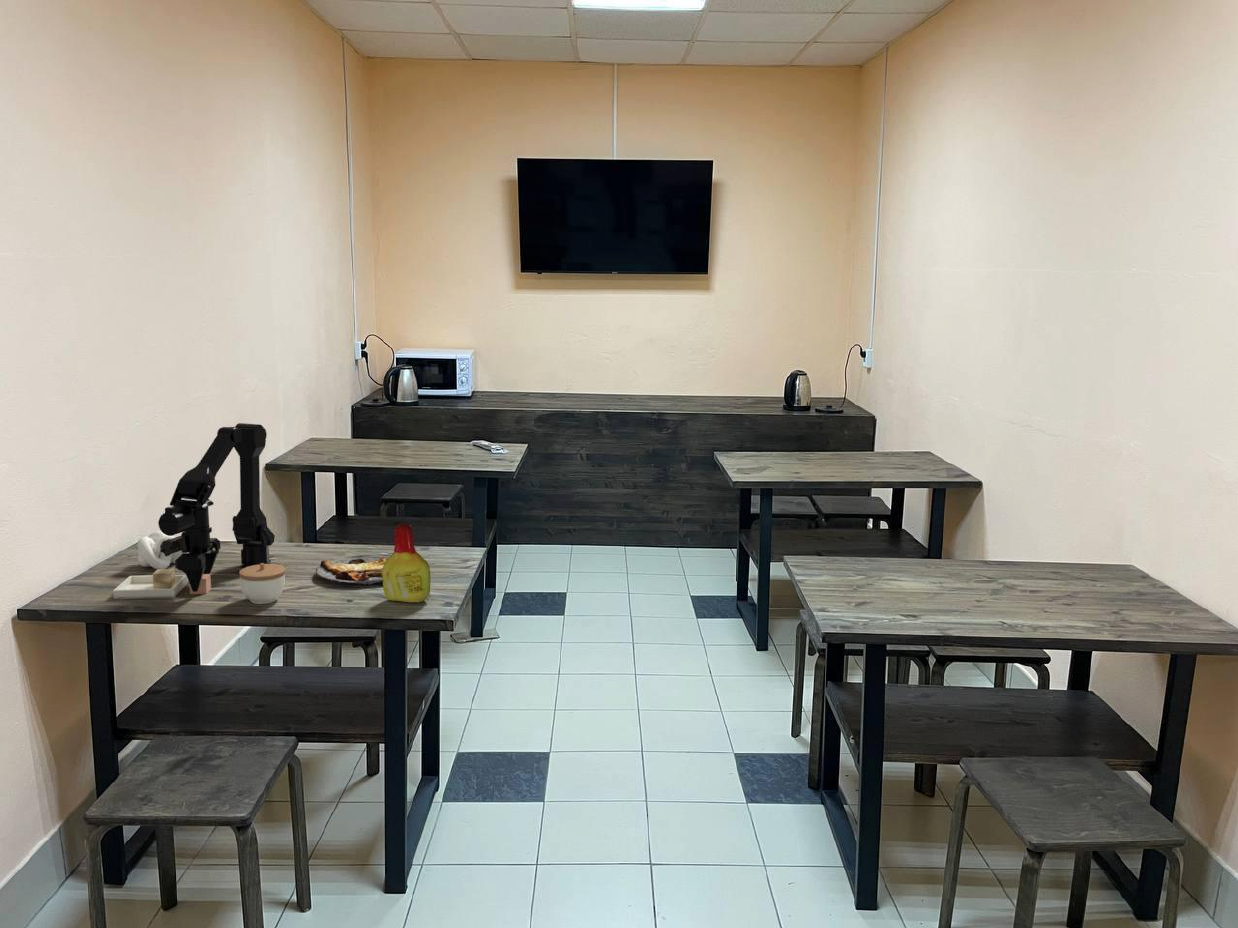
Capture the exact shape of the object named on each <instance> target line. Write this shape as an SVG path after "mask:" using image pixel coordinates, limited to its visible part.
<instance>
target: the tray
mask: <svg viewBox="0 0 1238 928" xmlns="http://www.w3.org/2000/svg"><path fill="white" fill-rule="evenodd" d="M188 583H189V580H188V578H187V576H186V574H175V585H174V586H173V587H172V588H171V589H154V585H153V574H152V575H151V574H150V575H129V576H128V577H127V578H126V579H125V580H124V581H122V582H121V583H120V584H119V585H118V586H116V588H114V589H113V590H112V595H113V597H112V598H113V600H127V599H128V600H130V599H131V600H133V599H134V600H135V599H136V600H138V599H143V600H144V599H175V598H176V596H177V595H178V594H180V592H181V591H182V590H183V589H184V588H185V587H186V586H187V584H188Z"/></svg>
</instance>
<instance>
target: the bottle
mask: <svg viewBox="0 0 1238 928" xmlns="http://www.w3.org/2000/svg"><path fill="white" fill-rule="evenodd" d="M415 547H416V546H415V544H414V534H413V528H412V525H410V524H409V523H399V524H397V525H396V526H395V528H394V548H393V553H392V554H391V555H390V556H389V558H388V559H387V560H386V562H385V563H384V565H383V569H382V576H381V577H382V578H381V579H383V581H382V587H383V589H382V590H383V593H384V597H386V599H387V600H389V601H394V602H395V601H397V602H405V603H422V602H423V601H425V600H426V598H427V597H428V596H429V595H430V594H431V568H430V564H429V563H428V561H427V560H426V559H425V558H423V556H421V554H420V553H418V552H417V551H416V548H415Z"/></svg>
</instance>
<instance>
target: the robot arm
mask: <svg viewBox="0 0 1238 928" xmlns="http://www.w3.org/2000/svg"><path fill="white" fill-rule="evenodd" d="M266 441H267V430H266V428H264V426H263V425H262V424H258V423H257V424H256V423H241V422H239V423H237V424H236V425H235V426H222V427H220V428H218V430H217V432H216V437H215V438H214V439H213V441H212V442H211V444H210V446H209V447H208V449H207V450H206V451H205V453H204V454H203V456H202V458H201V460H199V462H198V463H197V464H196V466H195V467H192V468H191V469H189V470H187V471H186V472H185V473H184V475H182V476H181V478H179V480H178V482H177V485H176V488H175V490H174V493H173V496H172V498H171V500H170V503H169V506H167V507H165V508H164V513H162V514H161V515H160V517H159V519H158V522H157V524H158V528H159V530H160V532H163V533H164V534H165V535H167V536H174V535H178V534H180V535H178V536H175V538H172V539H168V540H166V541H165V540H164V541H163V542H162V544H161V545H160V548H161V549H160V552H163V553H164V555H165V556H169V555H170V554H173V553H176V552H178V551H181V550H182V555H180V556H179V557H178V558H177V559H176V560H175V562H174V567H175V568H174V569H175V570H176V569H177V570H178V571H181V572H182V573H183V574H184V575H186V576H187V578H188V583H190V586H191V588H192V591H193V592H197V591H198V588H199V586H200V582H201V579H202V576H203V574H210V575H211V573H212V569H213V567H214V564H215V562H216V560H217V557H218V555H219V553H220V550H221V540H220V539H218V538H217V537H211V535H210V534H211V533H212V532H213V528H212V527H210V517H209V516H210V514H209V512H210V511H209V507H211V506H213V505H214V502H213V500H211V499H210V497H211V495H212V493H213V491H214V489H215V488H216V485H217V484H216V476H217V474H218V472H219V470H220V469H221V468H222V466H223V464H224V463H225V461H226V460H227V458H228V456H229V455H230V453H231V452H232V451H233V449H234V450H235V451H236V453H237V455H238V456H239V489H240V490H239V491H240V493H239V494H240V495H239V498H240V503H239V504H240V509H239V511H238V513H237V514H236V515H233V516H232V529H231V531H233V535H234V538H235V542H236V544H237V545H242V548H241V550H240V557H241V559H240V560H241V561H240V562H241V565H242V566H241V568H242V569H243V568H246V567H249V566H253V565H259V564H261V563H264V564H271V562H272V559H270V547H269V546H272V545H273V544H274V542H275V537H276V536H275V534H274V533H273V532H272V530H271V529H270V528H269V527H268V523H267V517H266V515H265V514H264V512H263V510H262V509H261V500H260V499H261V491H260V489H261V486H260V484H261V483H260V481H261V478H260V471H261V470H260V455H261V454H262V453H263V451H264V449H265V447H266ZM190 586H189V587H190Z"/></svg>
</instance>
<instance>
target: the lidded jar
mask: <svg viewBox="0 0 1238 928" xmlns="http://www.w3.org/2000/svg"><path fill="white" fill-rule="evenodd" d="M238 574H239V581H240V582H239V583H240V589H241V591H242V593H243V595H244V596H245V598H246V599H247V600H249V601H250V603H251V604H255V605H266V604H271V603H273V602H276V601H277V599H278V597H280V595H281V594H282V593H283V590H284V589H285V583H286V567H284V566H283V565H279V564H275V563H270V564H264V563H261V564H259V565H253V566H249V567H246V568H242V569H240V570H239V572H238Z"/></svg>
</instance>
